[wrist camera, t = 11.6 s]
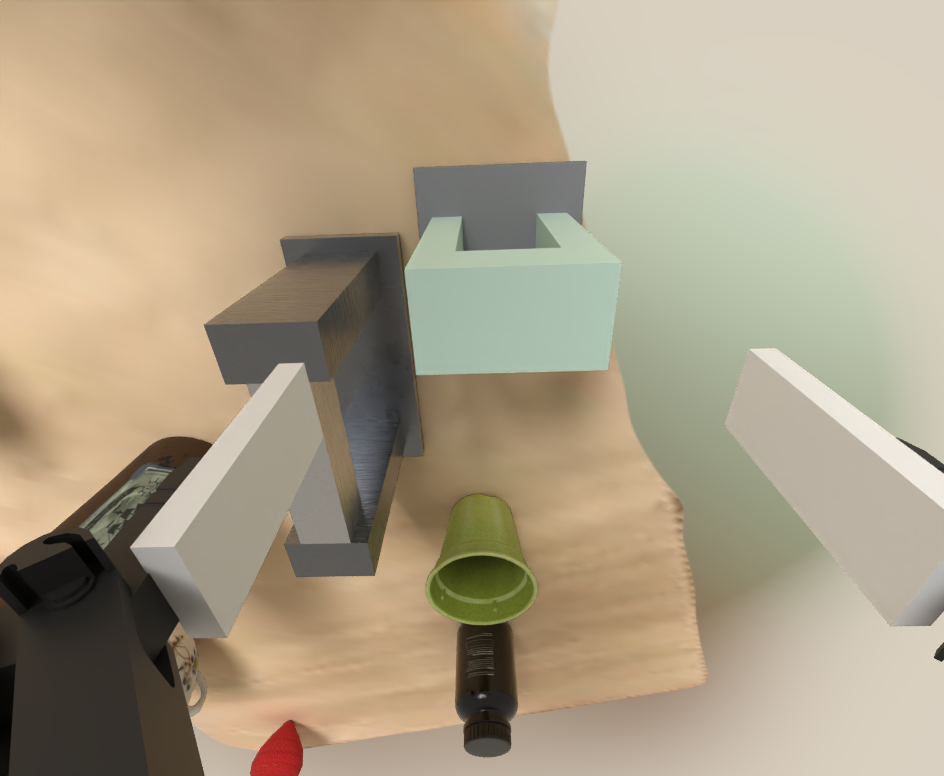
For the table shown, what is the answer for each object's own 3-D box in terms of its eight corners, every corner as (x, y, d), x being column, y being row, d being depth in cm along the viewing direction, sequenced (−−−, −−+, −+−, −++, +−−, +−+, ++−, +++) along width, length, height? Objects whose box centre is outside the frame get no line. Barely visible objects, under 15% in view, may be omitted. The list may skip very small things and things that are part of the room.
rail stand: (285, 236, 31) (161, 304, 19) (398, 232, 31) (347, 298, 18) (337, 450, 40) (276, 587, 28) (423, 449, 40) (400, 585, 28)
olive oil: (225, 529, 46) (0, 884, 24) (122, 479, 42) (-247, 839, 21) (272, 469, 42) (50, 833, 20) (161, 409, 38) (-249, 767, 17)
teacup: (92, 618, 54) (36, 689, 47) (159, 584, 51) (108, 656, 44) (190, 674, 60) (153, 744, 53) (255, 648, 57) (224, 719, 50)
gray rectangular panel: (414, 167, 29) (413, 168, 28) (584, 160, 28) (586, 161, 28) (428, 325, 34) (428, 328, 34) (571, 321, 34) (572, 324, 33)
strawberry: (322, 725, 67) (299, 812, 59) (282, 734, 69) (254, 820, 60) (300, 707, 65) (273, 796, 56) (258, 717, 66) (225, 804, 58)
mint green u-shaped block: (432, 217, 29) (404, 269, 18) (566, 212, 29) (622, 262, 18) (437, 289, 32) (416, 375, 21) (561, 286, 32) (607, 370, 21)
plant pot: (415, 505, 44) (402, 582, 36) (494, 464, 41) (498, 538, 34) (468, 557, 48) (467, 637, 40) (544, 523, 45) (557, 601, 37)
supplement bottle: (449, 639, 55) (443, 756, 45) (468, 608, 52) (466, 726, 42) (500, 650, 57) (505, 767, 46) (521, 621, 53) (532, 739, 43)
